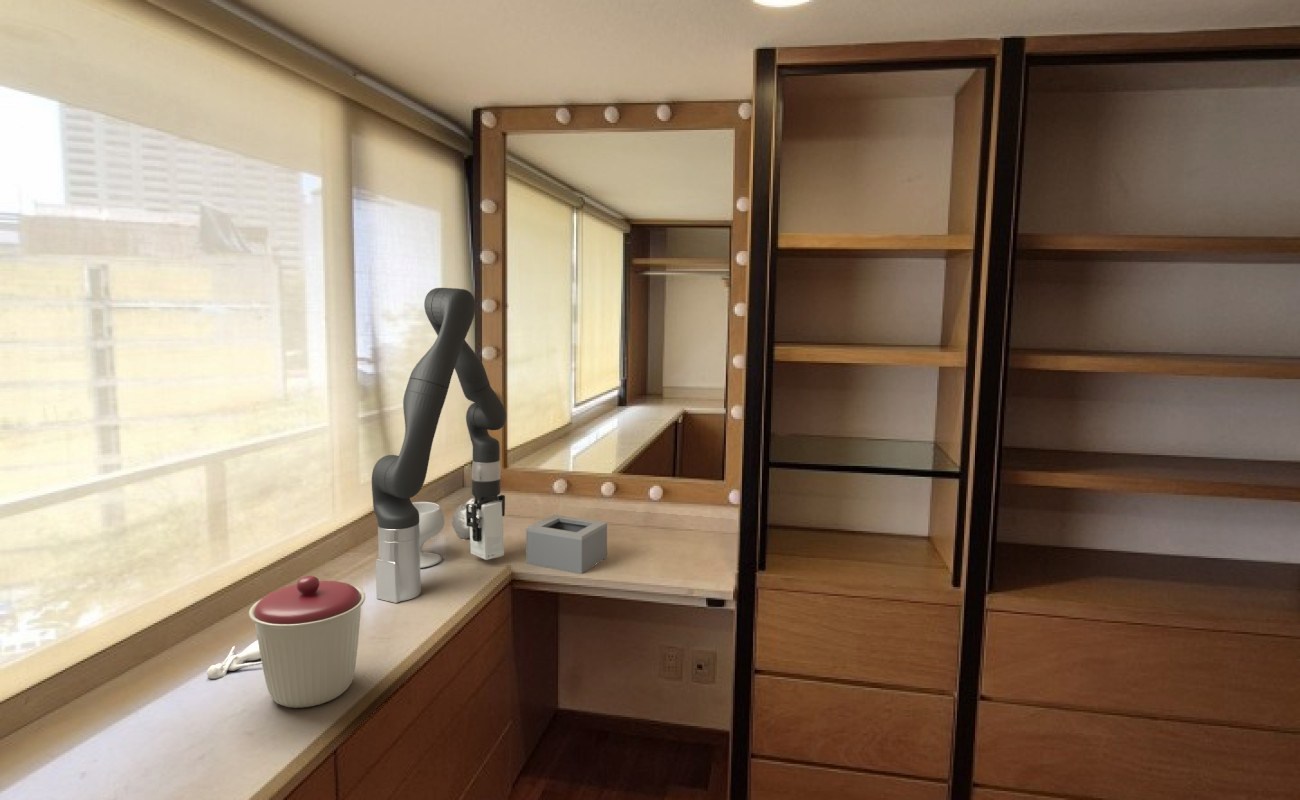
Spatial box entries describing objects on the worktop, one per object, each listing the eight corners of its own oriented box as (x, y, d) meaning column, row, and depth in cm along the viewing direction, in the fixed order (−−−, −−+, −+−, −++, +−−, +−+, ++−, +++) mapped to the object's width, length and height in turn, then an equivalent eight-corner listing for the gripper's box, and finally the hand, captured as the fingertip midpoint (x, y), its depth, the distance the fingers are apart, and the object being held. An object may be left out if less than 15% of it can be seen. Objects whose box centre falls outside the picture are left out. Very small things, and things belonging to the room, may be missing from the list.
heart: (450, 530, 217) (449, 494, 214) (481, 527, 220) (481, 492, 216) (451, 545, 208) (450, 508, 204) (484, 543, 211) (484, 506, 207)
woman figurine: (314, 626, 141) (226, 672, 125) (317, 646, 141) (229, 694, 126) (276, 614, 146) (186, 656, 130) (278, 634, 147) (190, 678, 131)
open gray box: (581, 574, 183) (581, 536, 182) (526, 563, 190) (526, 527, 189) (606, 557, 196) (607, 522, 195) (554, 548, 203) (554, 514, 202)
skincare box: (504, 556, 190) (504, 502, 189) (484, 561, 186) (484, 505, 184) (487, 548, 196) (487, 496, 195) (468, 553, 192) (468, 499, 190)
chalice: (379, 567, 185) (377, 512, 183) (410, 551, 198) (409, 498, 197) (426, 573, 181) (424, 517, 180) (455, 556, 195) (454, 503, 193)
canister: (314, 730, 113) (308, 604, 110) (228, 709, 119) (221, 588, 116) (389, 677, 130) (386, 566, 127) (311, 660, 136) (307, 554, 133)
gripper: (480, 484, 181) (480, 546, 183) (513, 473, 194) (513, 532, 196) (457, 480, 184) (457, 542, 186) (491, 470, 197) (491, 528, 199)
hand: (486, 537), depth 191 cm, fingers closed on skincare box, 7 cm apart
